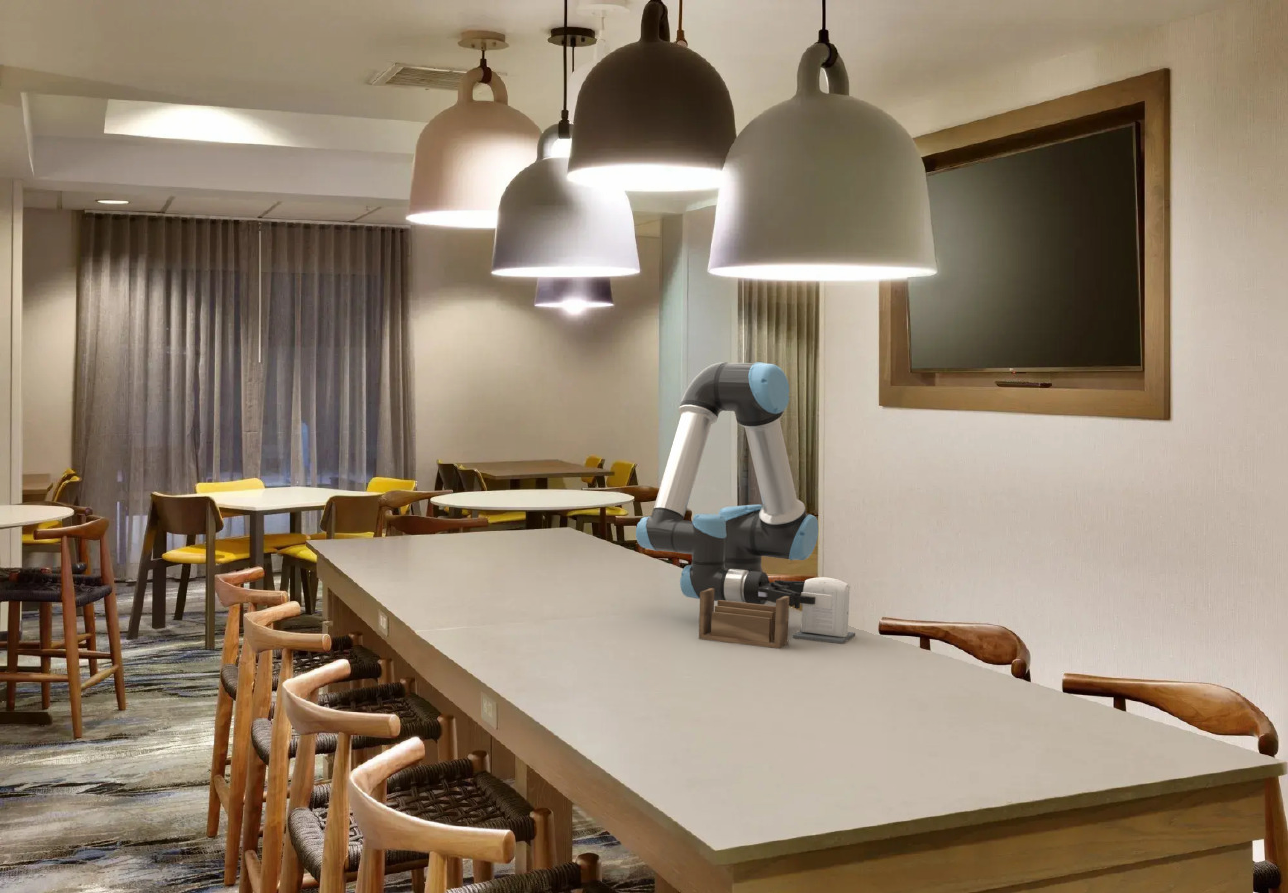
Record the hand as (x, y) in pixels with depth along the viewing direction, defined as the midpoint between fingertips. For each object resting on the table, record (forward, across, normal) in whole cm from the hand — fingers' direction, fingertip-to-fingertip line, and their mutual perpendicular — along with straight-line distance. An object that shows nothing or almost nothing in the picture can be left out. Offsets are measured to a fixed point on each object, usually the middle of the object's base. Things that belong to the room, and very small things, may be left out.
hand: (840, 597), depth 259 cm
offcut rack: (-17, +14, -9) cm, 24 cm away
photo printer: (-3, 0, -9) cm, 9 cm away
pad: (-3, 0, -9) cm, 10 cm away
